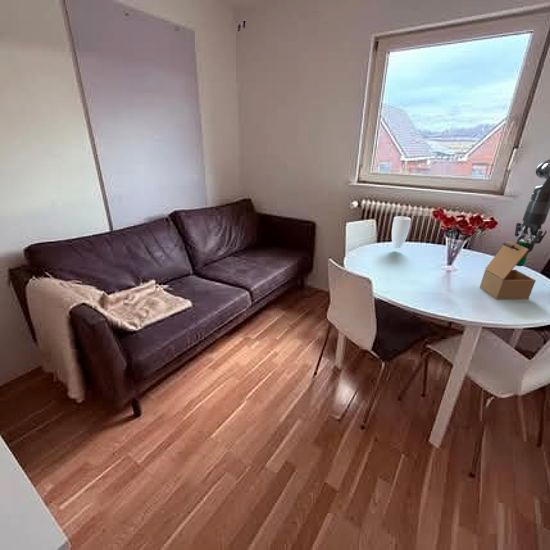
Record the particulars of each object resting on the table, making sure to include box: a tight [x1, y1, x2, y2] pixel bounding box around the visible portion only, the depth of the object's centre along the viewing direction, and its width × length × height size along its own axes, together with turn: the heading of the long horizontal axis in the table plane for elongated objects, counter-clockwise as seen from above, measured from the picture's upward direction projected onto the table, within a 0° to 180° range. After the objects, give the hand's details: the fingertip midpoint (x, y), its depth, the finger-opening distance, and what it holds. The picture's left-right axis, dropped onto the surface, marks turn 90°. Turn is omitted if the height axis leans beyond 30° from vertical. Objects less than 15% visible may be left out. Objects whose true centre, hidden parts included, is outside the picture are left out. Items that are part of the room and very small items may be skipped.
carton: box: [479, 269, 537, 300], centre depth 144 cm, size 15×12×10 cm
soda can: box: [515, 237, 533, 267], centre depth 138 cm, size 5×5×12 cm
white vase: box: [391, 215, 412, 249], centre depth 193 cm, size 10×10×22 cm
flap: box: [484, 239, 529, 280], centre depth 139 cm, size 16×12×5 cm
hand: (523, 249), depth 138 cm, fingers closed on soda can, 5 cm apart
